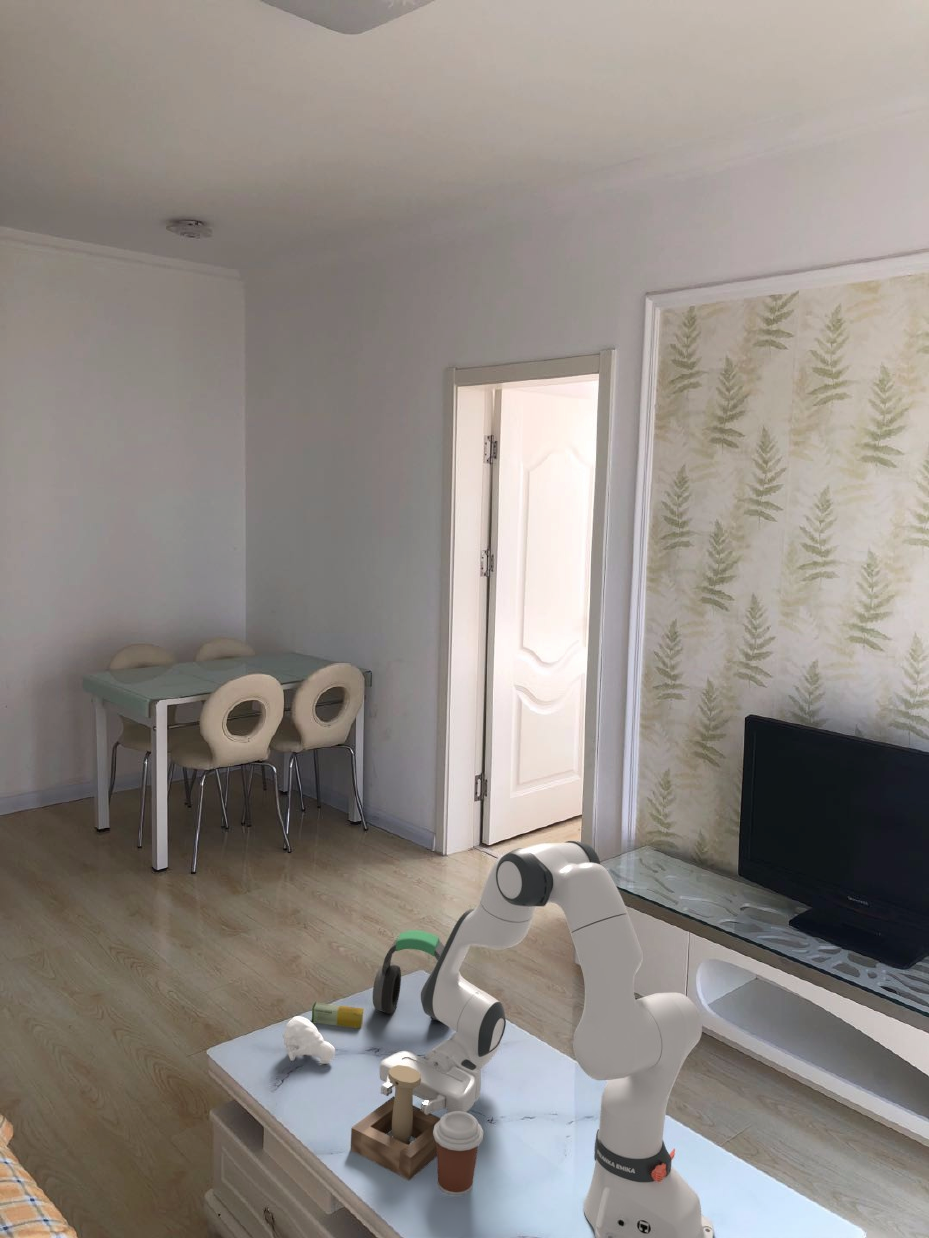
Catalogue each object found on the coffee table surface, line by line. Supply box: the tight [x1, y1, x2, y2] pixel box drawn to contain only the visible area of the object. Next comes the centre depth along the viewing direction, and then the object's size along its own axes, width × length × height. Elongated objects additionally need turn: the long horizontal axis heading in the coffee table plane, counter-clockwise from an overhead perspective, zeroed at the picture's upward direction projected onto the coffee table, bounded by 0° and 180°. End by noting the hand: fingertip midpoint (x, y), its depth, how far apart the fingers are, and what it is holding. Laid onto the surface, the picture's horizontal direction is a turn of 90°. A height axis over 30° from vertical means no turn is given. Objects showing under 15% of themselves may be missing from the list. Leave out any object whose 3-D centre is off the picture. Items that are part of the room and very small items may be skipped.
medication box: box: [311, 1001, 364, 1029], centre depth 238 cm, size 12×3×4 cm, turn 83°
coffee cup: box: [433, 1111, 484, 1197], centre depth 184 cm, size 9×9×12 cm
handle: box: [388, 1065, 421, 1145], centre depth 193 cm, size 5×6×15 cm
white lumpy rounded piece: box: [282, 1015, 336, 1066], centre depth 222 cm, size 6×8×12 cm
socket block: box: [349, 1095, 441, 1181], centre depth 194 cm, size 14×13×4 cm
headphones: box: [372, 929, 445, 1021], centre depth 243 cm, size 19×11×20 cm, turn 80°
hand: (403, 1100), depth 193 cm, fingers open, 8 cm apart
